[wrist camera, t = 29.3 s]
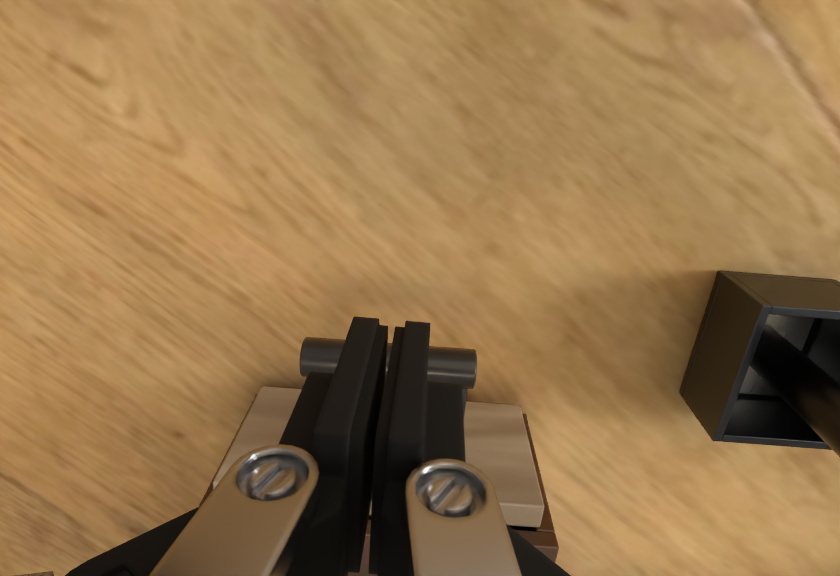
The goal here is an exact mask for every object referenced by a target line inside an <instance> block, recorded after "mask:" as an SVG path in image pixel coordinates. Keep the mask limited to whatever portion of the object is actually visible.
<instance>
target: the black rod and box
mask: <svg viewBox="0 0 840 576" xmlns="http://www.w3.org/2000/svg"><path fill="white" fill-rule="evenodd" d="M679 393H680V395H681V396H682V397H683V399H684V400H685V402H686V403H687V405H688V406H689V408H690V409H691V410H692V412H693V413H694V415H695V416H696V418H697V419H698V420H699V422H700V423H701V425H702V426H703V427H704V429H705V430H706V432H707V433H708V435H709V436H710V437H711V439H712V440H713V441H723V442H736V443H749V444H762V445H776V446H789V447H802V448H815V449H828V450H833V451H834V452H835V453H836V454H837V455H838V456H839V457H840V282H838V281H837V280H832V279H819V278H806V277H793V276H780V275H768V274H755V273H742V272H729V271H719V272H718V275H717V278H716V281H715V284H714V287H713V290H712V293H711V296H710V300H709V303H708V306H707V309H706V312H705V315H704V318H703V321H702V324H701V327H700V330H699V334H698V337H697V340H696V343H695V346H694V349H693V352H692V355H691V358H690V361H689V364H688V368H687V371H686V374H685V377H684V380H683V383H682V386H681V389H680V392H679Z"/></svg>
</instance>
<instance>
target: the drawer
mask: <svg viewBox="0 0 840 576" xmlns="http://www.w3.org/2000/svg"><path fill="white" fill-rule="evenodd" d="M344 343H345V340H340V339H326V338H313V337H306V338H305V339H304V341H303V343H302V347H301V353H300V373H301V375H302V376H304V377H307V376H308V375H309V373H310V372H311V371H313V372H325V373H334V372H335V369H336V366H337V363H338V360H339V357H340V354H341V352H342V349H343V346H344ZM391 348H392V343H387V359H386V376H387V370H388V365H389V359H390V354H391ZM476 370H477V355H476V351H475V350H474V349H461V348H448V347H434V346H429V355H428V372H427V381H431V382H443V383H455V384H461V385H462V397H463V417H464V437H465V458H466V463H469V464H471V465H473V466H475V467H476V468H478V469H480V470H481V471H482V472H483V473H484V474H485V475H486V476H487V477H488V478H489V479H490V481H491V482H492V484H493V486H494V488H495V491H496V494H497V498H498V501H499V504H500V507H501V510H502V514H503V517H504V520H505V523H506V524H507V525H508V526H509V527H511V528H512V529H513V530H515V526H525V527H540V525H541V520H542V516H543V511H544V503H543V498H542V494H541V490H540V486H539V482H538V478H537V473H536V469H535V465H534V461H533V457H532V453H531V448H530V444H529V440H528V436H527V432H526V427H525V423H524V419H523V415H522V411H521V407H520V405H510V404H496V403H483V402H469V401H466V399H467V391H468V389H473V388H474V385H475V380H476ZM385 381H386V378H385ZM301 390H302V389H293V388H279V387H266V386H262V387H261V389H260V391H259V393H258V395H257V397H256V399H255V401H254V402H253V404H252V406H251V408H250V410H249V412H248V414H247V416H246V418H245V420H244V422H243V424H242V426H241V428H240V430H239V432H238V434H237V436H236V438H235V440H234V442H233V444H232V446H231V448H230V450H229V452H228V453H227V455H226V457H225V459H224V461H223V463H222V465H221V467H220V469H219V471H218V473H217V475H216V477H215V479H214V481H213V489H214V488H215V487H216V485H217V484H218V483H219V481H220V480H221V479H222V477H223V476H224V475H225V473H226V472H227V471H228V469H229V468H230V467H231V465H232V464H233V463H234V462H236V461H237V460H238V459H239V458H240V457H241V456H243V455H244V454H246V453H248V452H249V451H251V450H254V449H257V448H260V447H263V446H268V445H276V444H279V442H280V439H281V437H282V435H283V432H284V430H285V428H286V425H287V423H288V421H289V418H290V416H291V414H292V411H293V409H294V407H295V404H296V402H297V400H298V397H299V395H300V393H301ZM371 508H372V501H371V507H370V513H369V519H371Z"/></svg>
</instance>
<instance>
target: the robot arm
mask: <svg viewBox="0 0 840 576" xmlns="http://www.w3.org/2000/svg"><path fill="white" fill-rule="evenodd" d="M429 337H430V323H424V322H412V321H406V323H405V327H395V332H394V337H393V343H392V348H391V354H390V359H389V365H388V370H387V376H386V359H387V341H388V326H383V325H379V319H376V318H364V317H354V318H353V320H352V323H351V326H350V329H349V332H348V334H347V337H346V340H345V343H344V346H343V349H342V352H341V354H340V357H339V360H338V363H337V366H336V369H335V372H334V373H325V372H313V371H311V372H310V373H309V375H308V376H307V379H306V381H305V383H304V386H303V388H302V390H301V393H300V395H299V397H298V400H297V402H296V404H295V407H294V409H293V411H292V414H291V416H290V418H289V421H288V423H287V425H286V428H285V430H284V432H283V435H282V437H281V439H280V442H279V444H276V445H268V446H263V447H260V448H257V449H254V450H251V451H249V452H248V453H246V454H244V455H243V456H241V457H240V458H239V459H238V460H237V461H236V462H234V463H233V464H232V465H231V467H230V468H229V469H228V471H227V472H226V473H225V475H224V476H223V477H222V479H221V480H220V481H219V483H218V484H217V485H216V487H215V488H214V489H213V491H212V492H211V493H210V495H209V496H208V497H207V499H206V500H205V501H204V503H203V504H202V505H201V506H200V507H198V508H196V509H194V510H192V511H190V512H187V513H185V514H183V515H181V516H179V517H177V518H175V519H173V520H171V521H169V522H167V523H165V524H163V525H160V526H158V527H156V528H154V529H152V530H150V531H148V532H146V533H144V534H142V535H140V536H138V537H136V538H134V539H131V540H129V541H127V542H125V543H123V544H121V545H119V546H117V547H115V548H113V549H111V550H109V551H107V552H105V553H102V554H100V555H98V556H96V557H94V558H92V559H90V560H88V561H86V562H85V563H83V564H81V565H80V566H78V567H76V568H75V569H73V570H71V571H70V572H69V573H68V574H66V575H65V576H348V572H352V573H359V572H360V567H361V561H362V555H363V549H364V543H365V537H366V531H367V525H368V519H369V513H370V507H371V501H372V508H371V529H370V550H369V574H375V575H378V576H570V575H569V574H568V573H567V572H565V571H564V570H563V569H562V568H560V567H559V566H558V565H557V564H555V563H554V562H553V561H552V560H550V559H549V558H548V557H547V556H545V555H544V554H543V553H542V552H540V551H539V550H538V549H537V548H536V547H534V546H533V545H532V544H531V543H529V542H528V541H527V540H526V539H524V538H523V537H522V536H521V535H519V534H518V533H517V532H516V531H514V530H513V529H512V528H511V527H509V526H508V525H507V524H506V523H505V520H504V517H503V514H502V510H501V507H500V504H499V501H498V498H497V494H496V491H495V488H494V486H493V484H492V482H491V481H490V479H489V478H488V477H487V476H486V475H485V474H484V473H483V472H482V471H481V470H480V469H478V468H476V467H475V466H473V465H471V464H469V463H466V458H465V437H464V417H463V397H462V385H461V384H455V383H443V382H431V381H427V372H428V355H429ZM385 378H386V381H385ZM16 576H54V574H53V571H52V572H43V573H34V574H25V575H16Z"/></svg>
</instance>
